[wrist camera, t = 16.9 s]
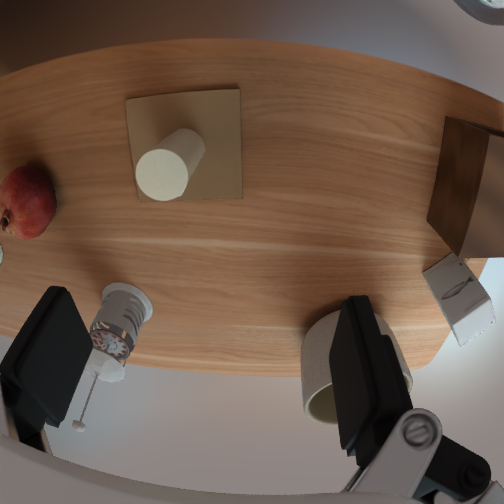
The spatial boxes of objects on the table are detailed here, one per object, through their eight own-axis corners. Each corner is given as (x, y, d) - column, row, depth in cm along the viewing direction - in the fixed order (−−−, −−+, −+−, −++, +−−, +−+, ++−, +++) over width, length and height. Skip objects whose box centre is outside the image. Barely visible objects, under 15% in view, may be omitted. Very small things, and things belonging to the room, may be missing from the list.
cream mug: (161, 130, 35) (131, 151, 26) (203, 127, 35) (185, 147, 26) (167, 183, 39) (142, 219, 30) (207, 181, 38) (192, 217, 30)
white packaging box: (454, 248, 44) (492, 297, 33) (464, 275, 47) (497, 323, 36) (420, 272, 46) (452, 326, 36) (432, 296, 49) (460, 348, 39)
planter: (402, 298, 50) (433, 367, 37) (365, 360, 59) (381, 423, 46) (311, 288, 48) (326, 366, 35) (285, 355, 57) (290, 425, 45)
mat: (126, 99, 33) (124, 99, 32) (240, 88, 33) (239, 88, 32) (140, 200, 40) (139, 202, 40) (242, 197, 40) (242, 199, 40)
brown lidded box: (445, 115, 33) (489, 134, 24) (503, 131, 32) (546, 152, 24) (426, 220, 41) (458, 258, 33) (481, 223, 41) (514, 257, 33)
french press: (149, 285, 49) (99, 424, 28) (157, 333, 55) (123, 457, 34) (96, 279, 48) (32, 402, 27) (109, 326, 54) (65, 439, 34)
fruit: (70, 223, 42) (37, 259, 34) (25, 218, 42) (-9, 250, 33) (63, 157, 37) (21, 184, 28) (15, 158, 36) (-26, 183, 28)
